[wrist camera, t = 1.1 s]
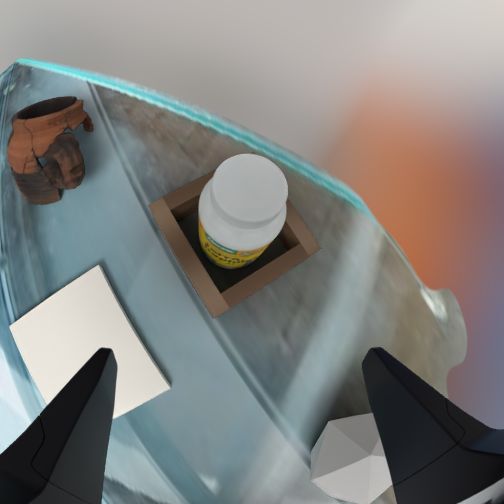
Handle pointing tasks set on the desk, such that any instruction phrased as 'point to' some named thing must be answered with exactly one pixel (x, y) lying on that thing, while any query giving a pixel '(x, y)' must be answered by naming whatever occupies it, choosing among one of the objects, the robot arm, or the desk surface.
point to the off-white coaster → (86, 341)
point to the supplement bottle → (241, 210)
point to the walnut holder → (166, 219)
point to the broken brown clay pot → (47, 148)
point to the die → (350, 460)
